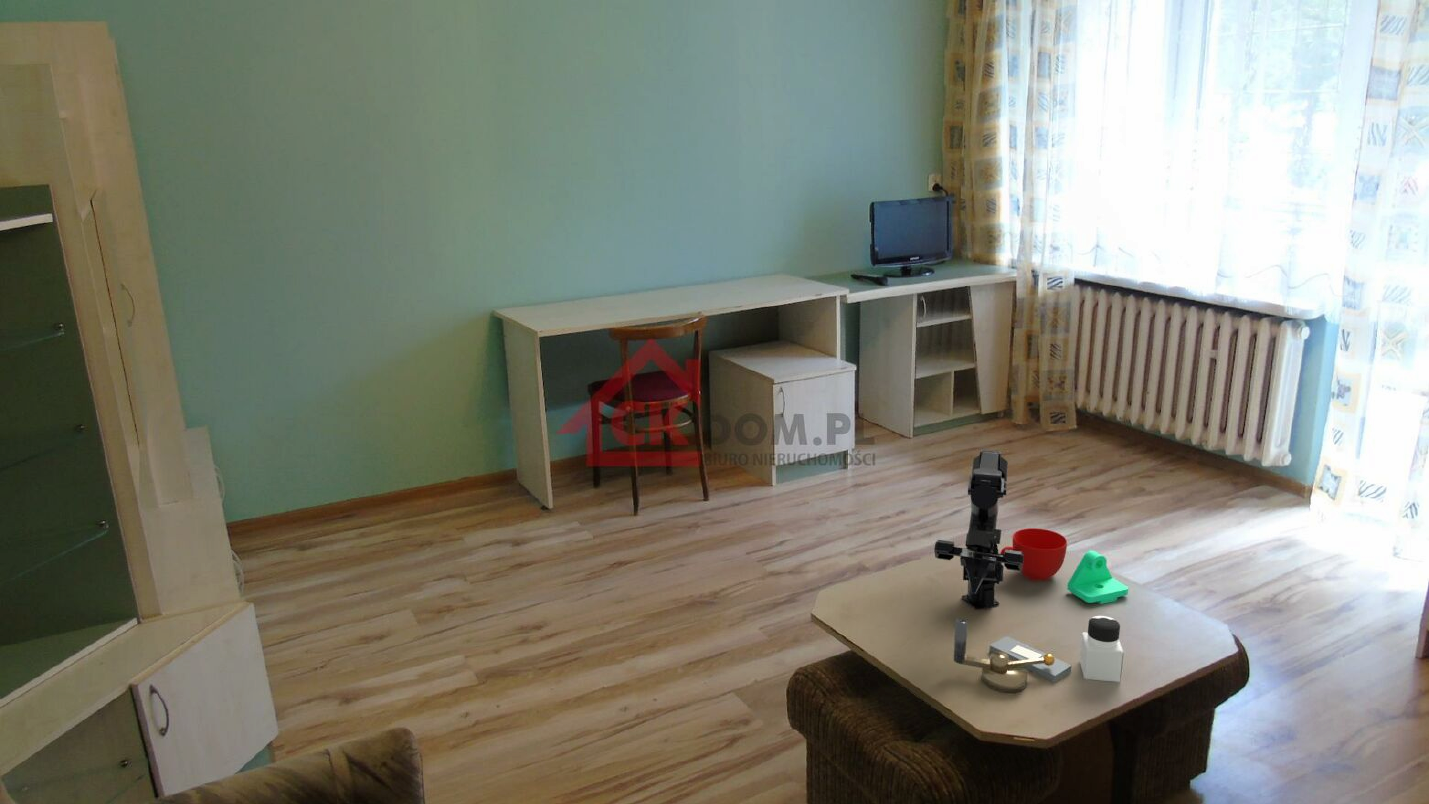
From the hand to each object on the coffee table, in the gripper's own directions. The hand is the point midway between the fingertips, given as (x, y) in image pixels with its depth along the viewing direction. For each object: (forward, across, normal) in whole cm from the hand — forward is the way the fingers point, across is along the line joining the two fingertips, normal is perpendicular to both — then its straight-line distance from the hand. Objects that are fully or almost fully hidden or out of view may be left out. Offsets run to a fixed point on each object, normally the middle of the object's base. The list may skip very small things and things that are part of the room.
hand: (973, 593), depth 214 cm
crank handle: (+16, +8, +1) cm, 18 cm away
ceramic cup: (-17, +11, +38) cm, 43 cm away
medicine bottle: (+11, +27, +7) cm, 30 cm away
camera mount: (-13, +27, +33) cm, 45 cm away
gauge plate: (+11, +13, +7) cm, 18 cm away
